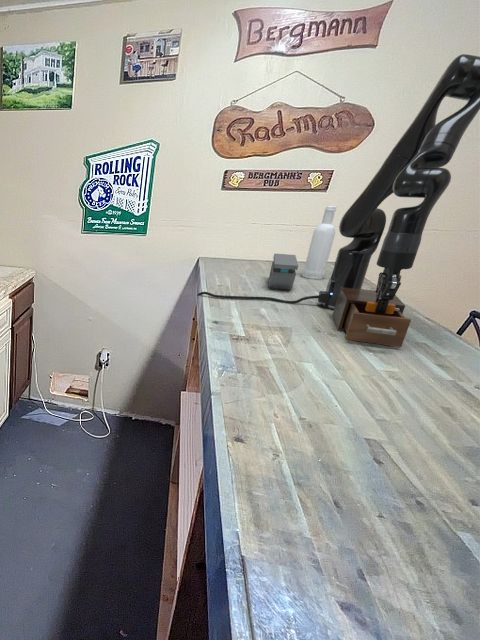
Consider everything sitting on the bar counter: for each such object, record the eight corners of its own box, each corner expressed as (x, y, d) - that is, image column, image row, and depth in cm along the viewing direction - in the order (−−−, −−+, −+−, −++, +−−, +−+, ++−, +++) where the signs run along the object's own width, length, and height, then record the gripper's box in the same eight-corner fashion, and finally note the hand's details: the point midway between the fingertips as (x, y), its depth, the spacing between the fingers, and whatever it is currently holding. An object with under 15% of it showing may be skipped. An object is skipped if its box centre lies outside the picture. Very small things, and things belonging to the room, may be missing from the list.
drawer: (405, 353, 120) (415, 324, 117) (347, 344, 125) (356, 317, 122) (389, 330, 136) (398, 304, 133) (339, 323, 141) (346, 299, 138)
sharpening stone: (291, 293, 177) (298, 265, 173) (268, 291, 181) (274, 263, 176) (289, 280, 197) (295, 255, 193) (268, 278, 201) (274, 253, 197)
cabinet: (394, 337, 133) (405, 305, 129) (337, 330, 139) (347, 299, 135) (383, 321, 146) (393, 292, 142) (332, 315, 152) (340, 287, 148)
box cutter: (366, 311, 128) (368, 303, 128) (364, 309, 130) (367, 301, 129) (398, 314, 125) (401, 306, 124) (396, 312, 127) (399, 304, 126)
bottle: (320, 275, 205) (339, 205, 193) (325, 279, 198) (345, 207, 186) (299, 274, 207) (317, 205, 195) (304, 278, 200) (322, 206, 188)
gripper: (424, 254, 114) (401, 320, 121) (410, 246, 125) (390, 307, 132) (386, 252, 117) (366, 316, 124) (376, 244, 129) (358, 304, 135)
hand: (378, 311), depth 128 cm, fingers closed on box cutter, 2 cm apart
